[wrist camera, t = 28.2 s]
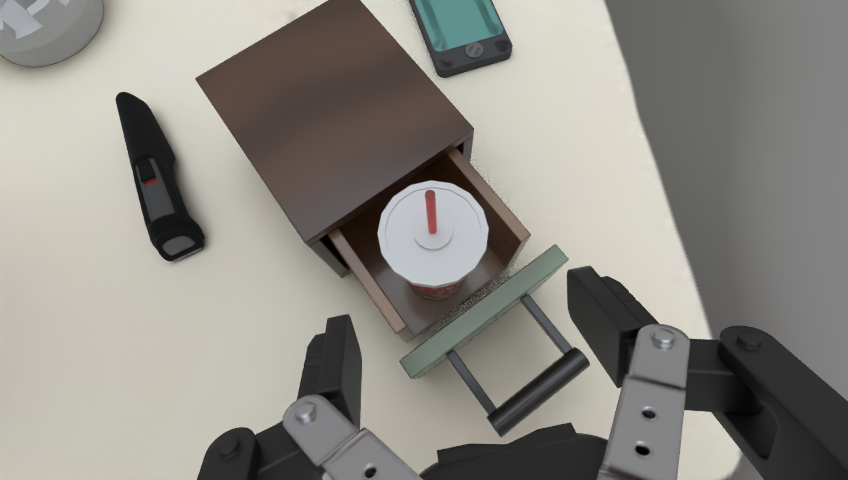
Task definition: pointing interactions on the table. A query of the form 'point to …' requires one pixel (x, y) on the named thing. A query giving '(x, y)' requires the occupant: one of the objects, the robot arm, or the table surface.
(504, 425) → the drawer
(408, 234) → the beverage cup
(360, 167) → the cabinet
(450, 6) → the smartphone
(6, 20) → the flag stand
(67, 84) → the table surface
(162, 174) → the electric trimmer
